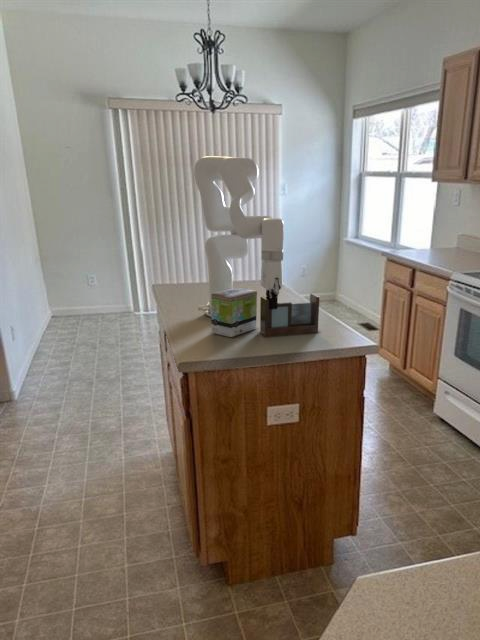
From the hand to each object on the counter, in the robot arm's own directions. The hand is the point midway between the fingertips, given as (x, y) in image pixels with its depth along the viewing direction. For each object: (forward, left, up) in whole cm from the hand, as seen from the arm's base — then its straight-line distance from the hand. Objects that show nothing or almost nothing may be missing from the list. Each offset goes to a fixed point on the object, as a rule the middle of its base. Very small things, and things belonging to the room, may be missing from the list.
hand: (271, 307), depth 190 cm
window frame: (+8, +1, -10) cm, 13 cm away
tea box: (-11, +8, -10) cm, 18 cm away
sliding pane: (+3, 0, -9) cm, 9 cm away
